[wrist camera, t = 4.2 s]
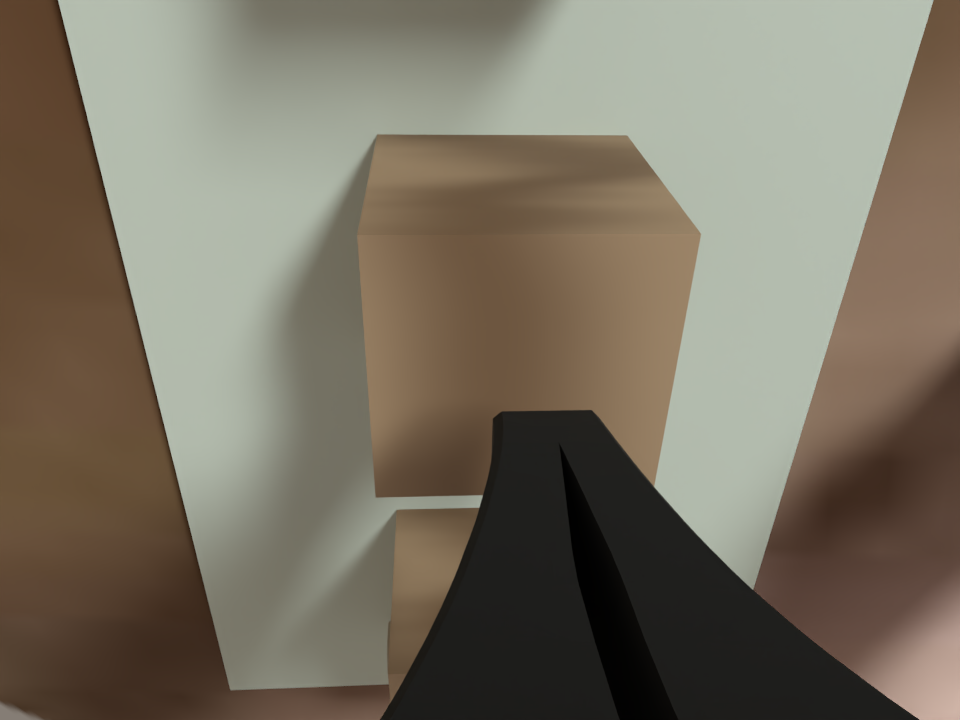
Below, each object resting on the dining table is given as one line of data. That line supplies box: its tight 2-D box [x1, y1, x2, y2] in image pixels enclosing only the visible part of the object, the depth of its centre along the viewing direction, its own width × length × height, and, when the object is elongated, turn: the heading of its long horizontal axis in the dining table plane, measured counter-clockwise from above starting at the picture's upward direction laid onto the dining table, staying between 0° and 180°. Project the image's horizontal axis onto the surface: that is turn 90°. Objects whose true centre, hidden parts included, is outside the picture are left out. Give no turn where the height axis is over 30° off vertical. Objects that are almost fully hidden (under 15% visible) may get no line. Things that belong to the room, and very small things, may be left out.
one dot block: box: [387, 508, 479, 703], centre depth 20 cm, size 5×5×5 cm
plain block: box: [357, 134, 701, 498], centre depth 15 cm, size 5×5×5 cm
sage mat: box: [58, 0, 933, 690], centre depth 17 cm, size 16×30×1 cm, turn 179°
